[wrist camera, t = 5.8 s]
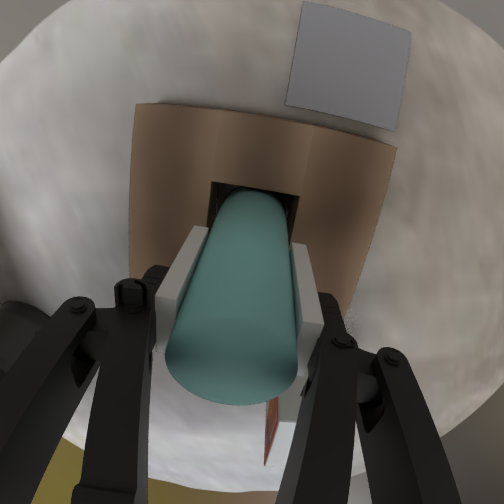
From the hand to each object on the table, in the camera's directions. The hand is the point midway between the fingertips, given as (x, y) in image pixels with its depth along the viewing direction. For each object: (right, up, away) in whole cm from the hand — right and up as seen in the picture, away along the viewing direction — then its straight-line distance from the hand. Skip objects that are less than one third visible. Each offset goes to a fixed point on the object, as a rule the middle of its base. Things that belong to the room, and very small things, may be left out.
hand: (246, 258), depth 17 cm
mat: (+7, +13, +2) cm, 15 cm away
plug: (0, +3, +5) cm, 5 cm away
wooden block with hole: (0, +3, +7) cm, 8 cm away
